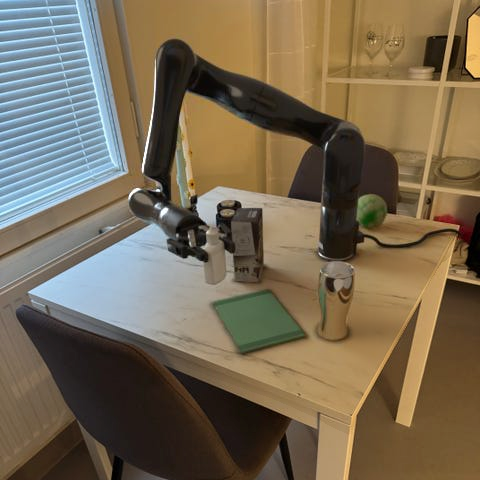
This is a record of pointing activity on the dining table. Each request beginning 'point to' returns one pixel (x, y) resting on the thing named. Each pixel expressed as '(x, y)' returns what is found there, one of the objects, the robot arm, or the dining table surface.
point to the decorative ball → (371, 211)
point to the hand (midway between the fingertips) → (220, 253)
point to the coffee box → (248, 244)
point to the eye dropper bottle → (214, 258)
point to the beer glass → (335, 298)
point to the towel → (257, 320)
